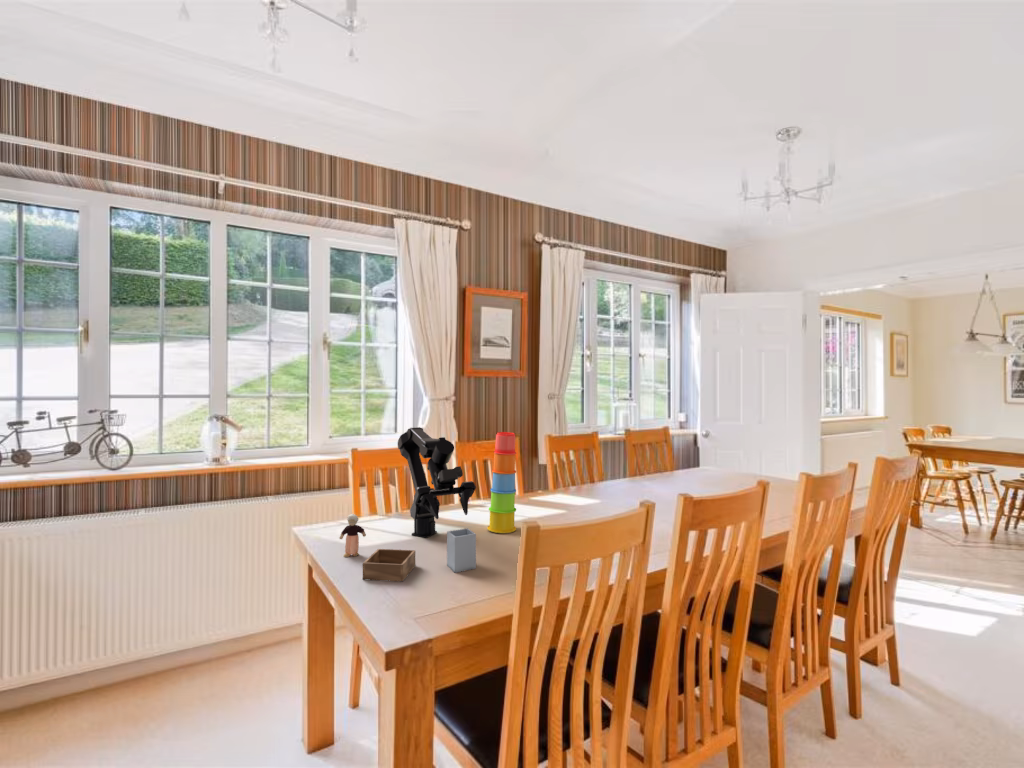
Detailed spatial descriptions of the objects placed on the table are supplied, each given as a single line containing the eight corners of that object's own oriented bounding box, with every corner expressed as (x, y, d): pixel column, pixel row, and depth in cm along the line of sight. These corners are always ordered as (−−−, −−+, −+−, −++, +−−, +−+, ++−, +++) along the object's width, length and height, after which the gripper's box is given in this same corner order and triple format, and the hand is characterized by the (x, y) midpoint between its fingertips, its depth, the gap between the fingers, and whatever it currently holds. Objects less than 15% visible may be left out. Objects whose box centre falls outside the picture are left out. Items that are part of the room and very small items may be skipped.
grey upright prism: (446, 565, 147) (446, 531, 147) (467, 561, 150) (467, 528, 150) (454, 572, 142) (454, 537, 142) (475, 568, 145) (475, 533, 145)
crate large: (378, 564, 149) (378, 548, 148) (415, 565, 147) (415, 550, 147) (362, 579, 137) (362, 563, 137) (402, 581, 136) (402, 564, 136)
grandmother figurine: (341, 559, 152) (340, 517, 152) (339, 555, 156) (338, 514, 156) (367, 554, 156) (366, 513, 156) (364, 551, 159) (364, 510, 159)
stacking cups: (490, 524, 187) (490, 430, 186) (518, 526, 185) (518, 431, 184) (484, 533, 177) (484, 434, 176) (513, 535, 175) (513, 434, 174)
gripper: (416, 460, 152) (428, 505, 143) (473, 455, 161) (488, 498, 152) (409, 481, 159) (420, 526, 150) (464, 476, 168) (477, 517, 159)
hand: (452, 516), depth 152 cm, fingers open, 9 cm apart
